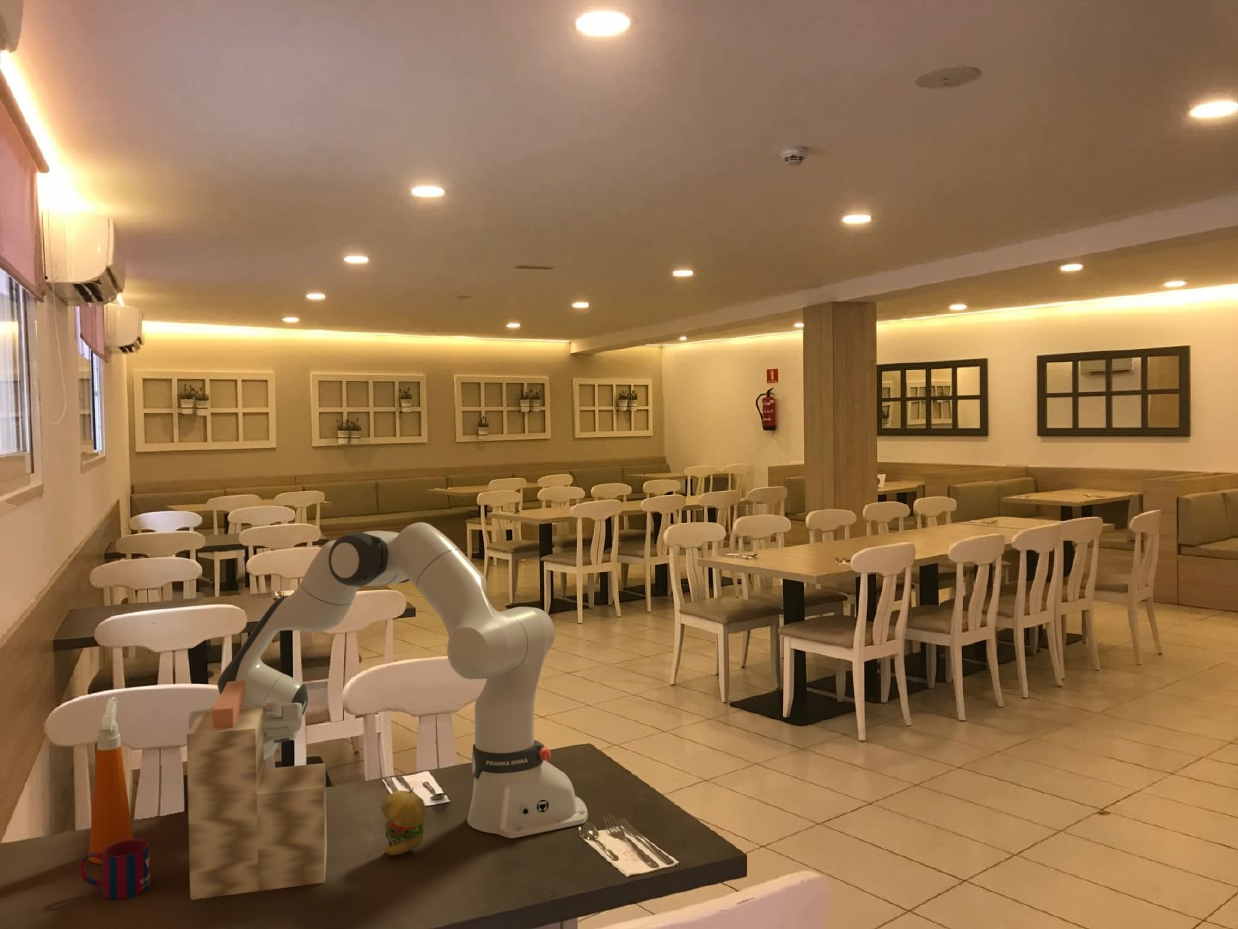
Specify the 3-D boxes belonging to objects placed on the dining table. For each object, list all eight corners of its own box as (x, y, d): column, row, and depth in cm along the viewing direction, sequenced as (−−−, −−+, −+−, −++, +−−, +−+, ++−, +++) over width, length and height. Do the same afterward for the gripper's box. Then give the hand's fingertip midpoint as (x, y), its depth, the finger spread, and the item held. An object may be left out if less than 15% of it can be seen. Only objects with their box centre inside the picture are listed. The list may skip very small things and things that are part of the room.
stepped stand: (326, 851, 164) (324, 703, 163) (324, 882, 152) (321, 723, 151) (202, 866, 158) (199, 713, 158) (190, 900, 147) (186, 734, 146)
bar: (246, 697, 167) (245, 680, 167) (233, 727, 150) (232, 708, 150) (227, 698, 166) (227, 681, 166) (212, 728, 149) (212, 709, 149)
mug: (139, 899, 147) (138, 855, 147) (73, 902, 147) (72, 858, 146) (157, 879, 154) (156, 837, 154) (93, 882, 153) (92, 840, 153)
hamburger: (403, 841, 167) (402, 774, 167) (435, 849, 164) (434, 781, 164) (373, 859, 161) (372, 789, 160) (406, 867, 157) (405, 796, 157)
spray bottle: (139, 836, 171) (136, 691, 170) (131, 860, 161) (128, 707, 160) (95, 842, 168) (92, 696, 168) (84, 867, 158) (80, 712, 158)
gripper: (195, 715, 185) (183, 696, 173) (304, 707, 191) (300, 688, 179) (192, 748, 182) (180, 731, 171) (304, 738, 188) (299, 721, 176)
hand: (242, 709), depth 175 cm, fingers open, 8 cm apart
